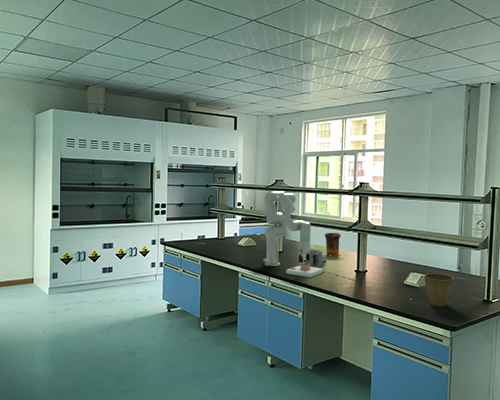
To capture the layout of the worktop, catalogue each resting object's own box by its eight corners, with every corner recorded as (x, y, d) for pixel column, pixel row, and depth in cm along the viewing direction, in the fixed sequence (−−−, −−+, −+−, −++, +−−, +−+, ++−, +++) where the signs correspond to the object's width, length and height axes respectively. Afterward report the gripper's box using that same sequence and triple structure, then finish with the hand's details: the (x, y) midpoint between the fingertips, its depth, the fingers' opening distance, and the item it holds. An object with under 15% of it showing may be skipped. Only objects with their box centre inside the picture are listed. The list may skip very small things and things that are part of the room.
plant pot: (418, 303, 239) (418, 275, 238) (434, 299, 247) (435, 272, 246) (441, 310, 226) (442, 281, 225) (458, 306, 234) (459, 277, 233)
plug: (300, 272, 314) (300, 263, 314) (304, 271, 318) (304, 262, 318) (306, 273, 311) (306, 264, 311) (309, 272, 315) (309, 263, 315)
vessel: (334, 257, 376) (334, 234, 375) (321, 255, 387) (321, 233, 386) (344, 255, 385) (343, 233, 385) (331, 253, 396) (331, 232, 396)
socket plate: (286, 273, 313) (286, 268, 313) (300, 269, 328) (300, 264, 328) (309, 277, 300) (309, 272, 300) (323, 272, 316) (323, 267, 316)
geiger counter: (304, 247, 347) (323, 252, 325) (310, 246, 350) (329, 251, 327) (304, 264, 348) (323, 270, 325) (310, 263, 350) (329, 269, 328)
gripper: (306, 236, 322) (306, 258, 324) (294, 239, 309) (293, 262, 310) (315, 237, 318) (314, 260, 319) (303, 240, 304) (302, 264, 306)
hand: (304, 261), depth 315 cm, fingers open, 9 cm apart
